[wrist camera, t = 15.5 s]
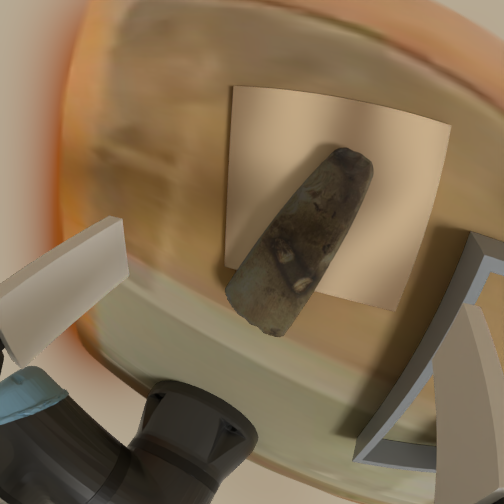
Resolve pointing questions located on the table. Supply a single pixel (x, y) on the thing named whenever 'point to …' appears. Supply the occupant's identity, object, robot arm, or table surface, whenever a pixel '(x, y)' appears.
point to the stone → (300, 243)
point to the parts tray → (428, 362)
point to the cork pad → (310, 157)
